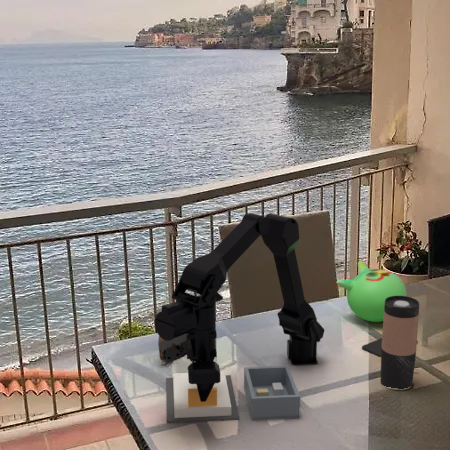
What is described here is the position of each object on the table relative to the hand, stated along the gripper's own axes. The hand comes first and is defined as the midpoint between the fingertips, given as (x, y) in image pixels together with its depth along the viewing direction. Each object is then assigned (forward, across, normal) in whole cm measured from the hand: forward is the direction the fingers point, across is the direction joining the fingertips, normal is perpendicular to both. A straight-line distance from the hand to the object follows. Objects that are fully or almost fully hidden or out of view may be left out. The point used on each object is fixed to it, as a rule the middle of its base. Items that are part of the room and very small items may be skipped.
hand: (202, 394), depth 146 cm
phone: (+5, -30, +50) cm, 58 cm away
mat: (+5, -6, 0) cm, 8 cm away
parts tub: (+5, -4, +15) cm, 16 cm away
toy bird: (+5, -48, +51) cm, 70 cm away
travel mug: (+5, -10, +45) cm, 46 cm away
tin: (+5, -30, -6) cm, 31 cm away
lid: (+4, -6, 0) cm, 7 cm away
